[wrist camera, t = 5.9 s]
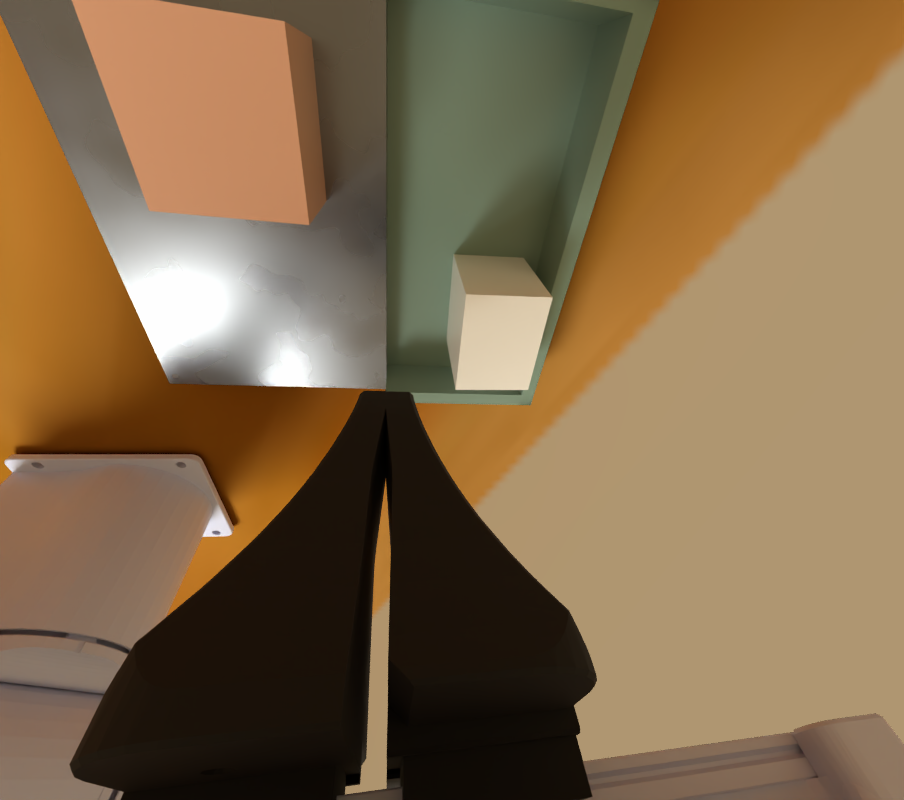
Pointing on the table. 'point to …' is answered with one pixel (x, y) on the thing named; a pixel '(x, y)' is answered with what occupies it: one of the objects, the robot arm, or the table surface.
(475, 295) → the tile cream
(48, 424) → the table surface
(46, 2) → the plate
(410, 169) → the box
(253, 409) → the table surface
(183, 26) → the terracotta block
